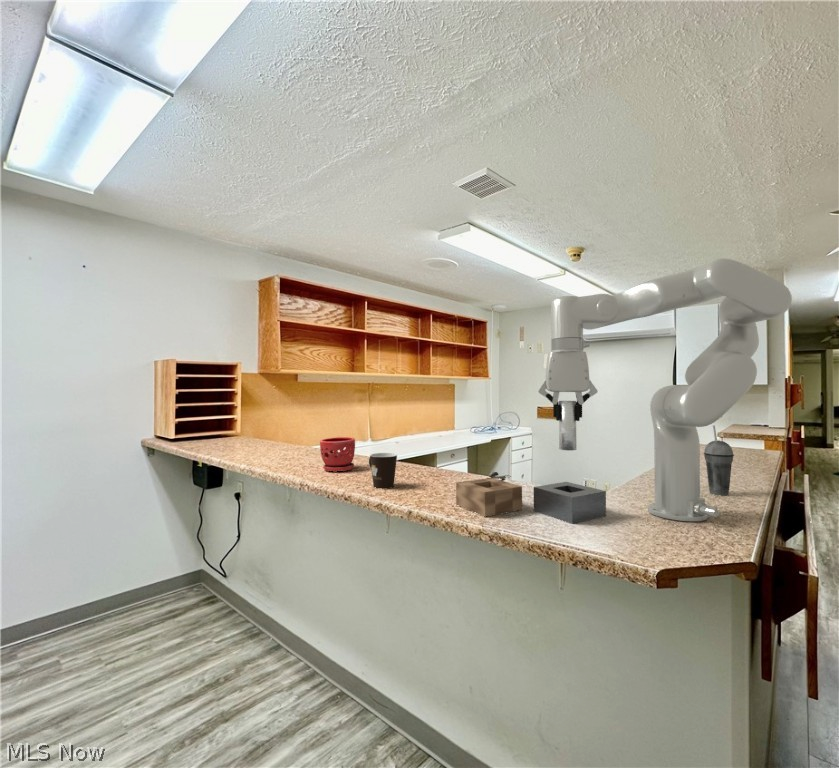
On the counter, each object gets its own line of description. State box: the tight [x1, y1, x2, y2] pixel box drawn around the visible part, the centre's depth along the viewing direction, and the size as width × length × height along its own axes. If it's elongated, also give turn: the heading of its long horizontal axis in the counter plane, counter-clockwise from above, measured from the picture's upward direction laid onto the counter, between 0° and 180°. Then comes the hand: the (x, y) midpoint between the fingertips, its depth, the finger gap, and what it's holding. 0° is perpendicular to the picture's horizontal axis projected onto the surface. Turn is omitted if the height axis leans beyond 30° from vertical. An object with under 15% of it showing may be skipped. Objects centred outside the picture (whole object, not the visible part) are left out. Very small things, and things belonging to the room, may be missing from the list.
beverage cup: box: [703, 424, 735, 497], centre depth 123 cm, size 7×7×20 cm
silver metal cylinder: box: [558, 400, 577, 451], centre depth 105 cm, size 4×4×12 cm
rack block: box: [455, 477, 523, 518], centre depth 110 cm, size 12×12×6 cm
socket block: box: [533, 481, 607, 525], centre depth 105 cm, size 12×12×6 cm
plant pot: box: [319, 436, 356, 473], centre depth 161 cm, size 13×13×12 cm
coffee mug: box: [368, 452, 398, 489], centre depth 135 cm, size 12×9×10 cm
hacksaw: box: [488, 471, 512, 481], centre depth 140 cm, size 24×10×2 cm, turn 154°
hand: (567, 419), depth 105 cm, fingers closed on silver metal cylinder, 4 cm apart
